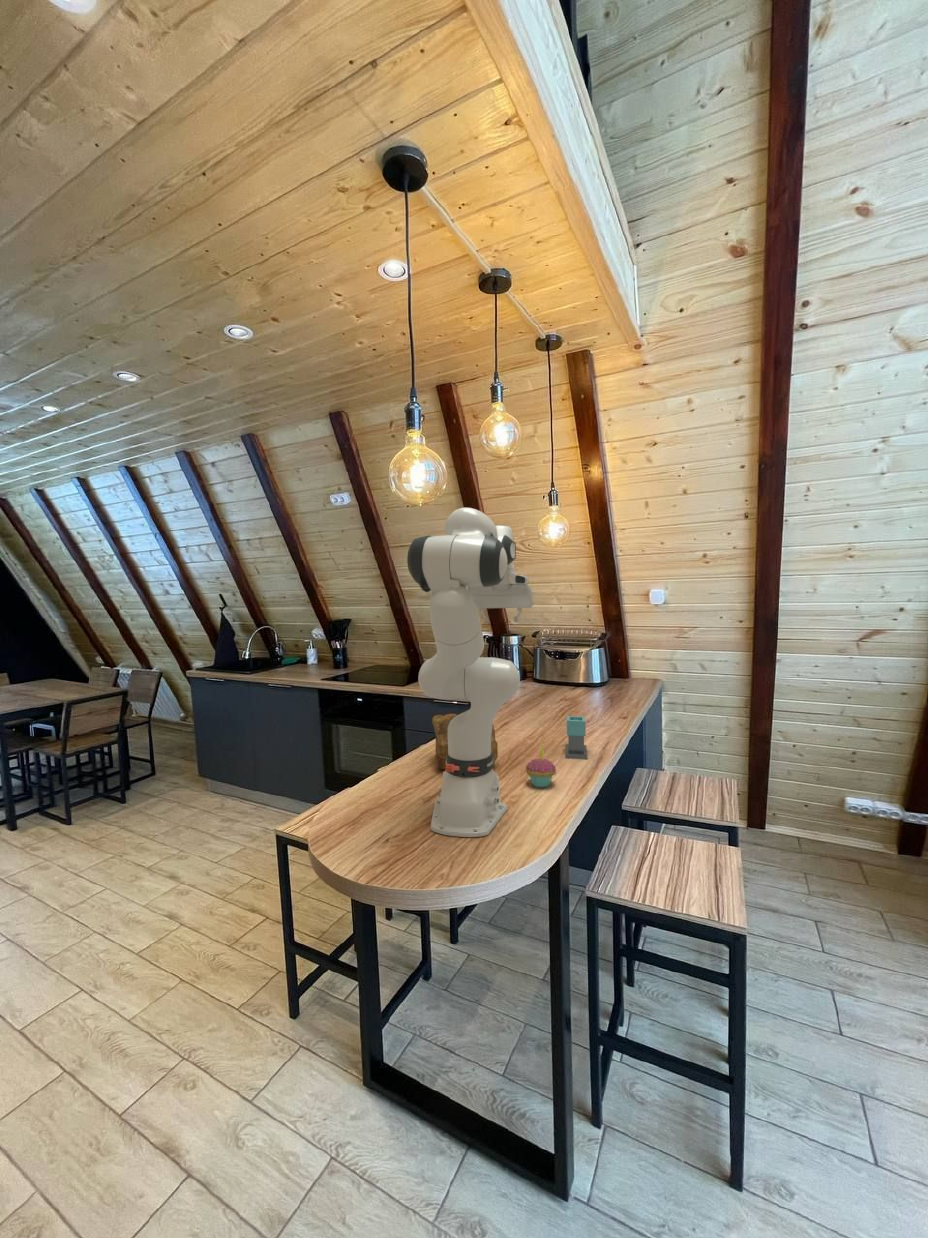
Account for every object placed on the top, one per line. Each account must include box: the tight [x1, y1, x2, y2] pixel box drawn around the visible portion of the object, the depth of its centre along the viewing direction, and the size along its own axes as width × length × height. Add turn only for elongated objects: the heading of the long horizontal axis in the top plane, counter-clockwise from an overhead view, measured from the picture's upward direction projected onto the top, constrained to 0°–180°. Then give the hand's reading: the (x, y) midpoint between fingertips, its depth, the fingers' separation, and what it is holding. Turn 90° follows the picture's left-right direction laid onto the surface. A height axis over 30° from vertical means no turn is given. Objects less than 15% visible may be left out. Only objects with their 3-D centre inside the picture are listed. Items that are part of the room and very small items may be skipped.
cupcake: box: [525, 740, 557, 788], centre depth 140 cm, size 9×8×12 cm
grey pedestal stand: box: [564, 719, 588, 760], centre depth 167 cm, size 13×7×12 cm, turn 168°
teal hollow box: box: [566, 715, 587, 737], centre depth 165 cm, size 6×6×5 cm
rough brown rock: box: [431, 713, 499, 770], centre depth 155 cm, size 23×17×15 cm
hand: (501, 622), depth 155 cm, fingers open, 8 cm apart
